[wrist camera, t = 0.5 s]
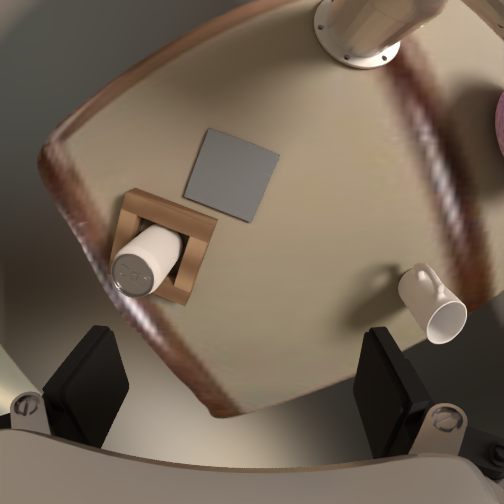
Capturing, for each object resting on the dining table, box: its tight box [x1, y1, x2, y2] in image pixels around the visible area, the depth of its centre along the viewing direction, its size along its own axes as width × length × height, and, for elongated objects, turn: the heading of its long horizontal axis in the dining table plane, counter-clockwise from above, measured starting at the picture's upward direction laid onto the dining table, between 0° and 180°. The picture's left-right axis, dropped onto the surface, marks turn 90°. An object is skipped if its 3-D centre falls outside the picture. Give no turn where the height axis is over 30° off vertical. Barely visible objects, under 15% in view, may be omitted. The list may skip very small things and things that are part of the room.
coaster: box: [184, 128, 280, 223], centre depth 41 cm, size 10×10×1 cm
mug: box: [398, 263, 467, 344], centre depth 39 cm, size 10×7×12 cm, turn 23°
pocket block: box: [108, 188, 218, 306], centre depth 43 cm, size 13×13×4 cm
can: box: [111, 223, 183, 298], centre depth 39 cm, size 6×6×12 cm
